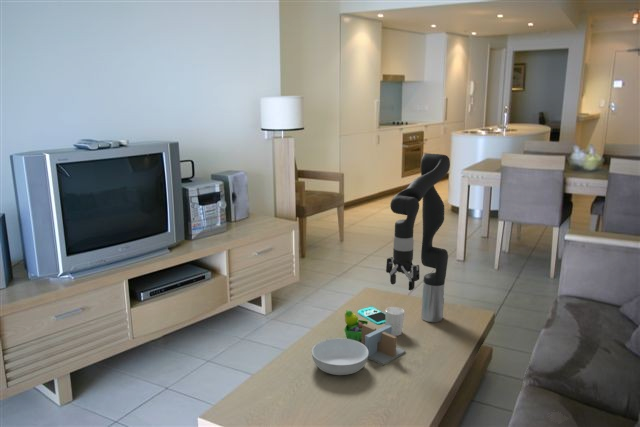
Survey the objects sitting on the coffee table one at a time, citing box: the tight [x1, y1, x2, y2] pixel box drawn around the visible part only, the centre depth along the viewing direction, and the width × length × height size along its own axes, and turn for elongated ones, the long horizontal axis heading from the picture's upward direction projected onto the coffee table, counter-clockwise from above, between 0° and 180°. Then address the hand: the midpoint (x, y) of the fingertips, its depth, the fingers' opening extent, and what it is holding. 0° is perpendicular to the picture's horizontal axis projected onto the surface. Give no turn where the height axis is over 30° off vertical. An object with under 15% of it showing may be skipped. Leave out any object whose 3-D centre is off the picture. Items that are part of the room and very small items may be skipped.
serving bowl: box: [311, 337, 369, 376], centre depth 192 cm, size 21×21×7 cm
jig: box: [360, 324, 406, 366], centre depth 204 cm, size 14×16×9 cm
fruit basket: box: [343, 309, 369, 342], centre depth 216 cm, size 11×9×11 cm
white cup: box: [384, 306, 405, 337], centre depth 221 cm, size 8×8×10 cm
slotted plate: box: [365, 324, 392, 356], centre depth 204 cm, size 14×2×8 cm, turn 135°
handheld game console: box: [357, 306, 386, 325], centre depth 238 cm, size 10×16×1 cm, turn 34°
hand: (401, 286), depth 203 cm, fingers open, 8 cm apart
